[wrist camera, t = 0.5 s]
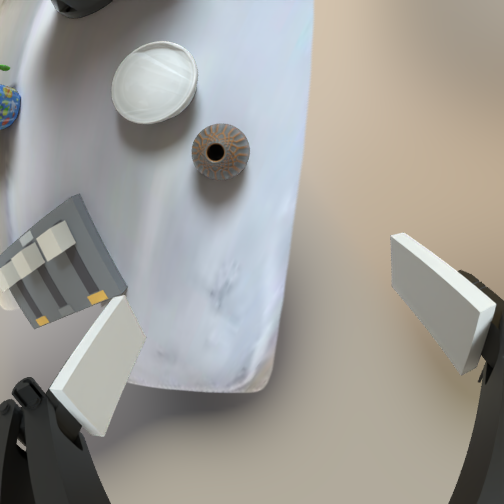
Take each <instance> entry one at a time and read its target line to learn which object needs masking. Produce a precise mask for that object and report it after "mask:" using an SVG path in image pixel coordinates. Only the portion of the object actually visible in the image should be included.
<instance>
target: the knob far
mask: <svg viewBox="0 0 504 504" xmlns="http://www.w3.org/2000/svg"><path fill="white" fill-rule="evenodd" d="M20 279H21V278H20V276H19V274H18V272H17V270H16V268H15V266H14V264H13V262H12V261H10V262H9V263H7V264H6V265H4V266H3V267H1V268H0V290H1V292H2V293H3V292H4V291H6V290H7V289H9V288H10V287H11V286H12V285H14V284H15V283H16V282H18V281H19V280H20Z"/></svg>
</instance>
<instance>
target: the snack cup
mask: <svg viewBox="0 0 504 504" xmlns="http://www.w3.org/2000/svg"><path fill="white" fill-rule="evenodd" d="M0 69H1V70H3V71H7V70H10V67H8V66H6V65H0ZM20 99H21V97H20V95H19V94H18V92H17V91H16V90H15V89H13V88H10V87H8V86H4V85H1V84H0V129H5V128H7V127H8V126H10V125H11V124H12V123H13V121H14V120H15V119H16V118H17V114H18V111H19V107H20Z"/></svg>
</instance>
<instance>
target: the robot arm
mask: <svg viewBox="0 0 504 504" xmlns="http://www.w3.org/2000/svg"><path fill="white" fill-rule="evenodd" d="M111 1H112V0H51V2H52V3H53V5H54V7H55V8H56V10H57V11H58V12H59V13H61V14H63V15H65V16H67V17H69V18H79V17H83V16H86V15H89V14H91V13H94V12H96V11H97V10H99V9H101V8H102V7H104V6H106V5H107V4H108V3H110V2H111ZM390 240H391V261H392V263H391V264H392V287H393V289H394V290H395V291H396V292H397V293H398V294H399V296H400V297H401V298H402V299H403V300H404V301H405V303H406V304H407V305H408V306H409V308H410V309H411V310H412V311H413V312H414V314H415V315H416V316H417V317H418V319H419V320H420V321H421V322H422V324H423V325H424V326H425V328H426V329H427V330H428V331H429V332H430V334H431V335H432V337H433V338H434V339H435V340H436V342H437V343H438V344H439V346H440V347H441V348H442V350H443V351H444V353H445V354H446V355H447V357H448V358H449V359H450V361H451V362H452V364H453V365H454V366H455V367H456V369H457V371H458V372H459V373H460V374H461V375H463V374H465V373H467V372H469V371H471V370H473V369H475V368H476V367H477V365H478V362H479V359H480V357H481V355H482V357H483V358H484V359H485V360H486V363H485V365H484V368H483V370H482V373H481V375H480V377H479V380H478V382H481V380H482V386H481V393H480V399H479V405H478V410H477V415H476V420H475V425H474V429H473V433H472V437H471V441H470V444H469V448H468V451H467V455H466V458H465V461H464V464H463V467H462V470H461V474H460V476H459V479H458V482H457V484H456V487H455V489H454V492H453V494H452V497H451V499H450V501H449V504H504V301H503V300H502V299H501V298H500V297H499V296H498V295H496V294H495V293H494V292H493V291H492V290H490V289H489V288H488V287H485V285H484V284H483V283H482V282H479V280H478V279H477V278H475V277H474V276H473V275H472V274H469V273H467V272H464V271H461V270H459V271H456V270H455V269H453V268H452V267H451V266H450V265H448V264H447V263H446V262H444V261H443V260H442V259H440V258H439V257H438V256H436V255H435V254H434V253H432V252H431V251H430V250H428V249H427V248H425V247H424V246H422V245H421V244H420V243H418V242H417V241H415V240H414V239H413V238H411V237H410V236H408V235H407V234H405V233H404V232H403V233H399V234H395V235H391V236H390ZM145 340H146V336H145V334H144V332H143V331H142V329H141V327H140V325H139V323H138V321H137V319H136V317H135V315H134V313H133V311H132V309H131V307H130V305H129V302H128V300H127V298H126V296H125V295H123V296H118V297H113V298H112V300H111V301H110V302H109V304H108V305H107V306H106V308H105V309H104V310H103V312H102V313H101V314H100V316H99V317H98V318H97V320H96V321H95V322H94V324H93V325H92V326H91V328H90V329H89V331H88V332H87V333H86V335H85V336H84V338H83V339H82V340H81V342H80V343H79V345H78V346H77V348H76V349H75V351H74V352H73V353H72V355H71V356H70V357H69V358H68V360H67V361H66V363H65V365H64V367H62V369H61V370H60V373H59V374H58V375H57V376H56V378H55V380H54V381H53V383H52V384H51V386H50V387H49V389H48V391H47V392H46V394H45V393H44V392H43V390H42V389H41V388H40V387H39V385H38V384H37V383H36V382H35V380H34V379H33V378H32V377H27V378H24V379H23V380H21V381H20V382H18V383H17V384H16V386H15V387H14V389H13V391H12V395H13V396H14V397H15V399H16V400H17V401H18V402H19V404H20V405H21V406H22V407H19V406H18V405H17V404H16V403H15V401H14V400H12V399H9V400H6V401H4V402H3V403H1V404H0V504H111V503H110V501H109V499H108V497H107V495H106V492H105V490H104V488H103V486H102V483H101V481H100V479H99V476H98V474H97V471H96V469H95V466H94V464H93V461H92V458H91V455H90V453H89V450H88V447H87V444H86V441H85V438H84V436H83V435H82V433H80V429H81V427H83V428H84V429H85V430H86V431H87V432H88V433H89V434H91V435H95V436H102V437H104V436H105V433H106V430H107V428H108V426H109V423H110V420H111V418H112V415H113V413H114V411H115V408H116V406H117V403H118V401H119V399H120V396H121V394H122V391H123V389H124V387H125V384H126V382H127V380H128V378H129V375H130V373H131V371H132V368H133V366H134V364H135V362H136V359H137V357H138V355H139V353H140V351H141V349H142V346H143V344H144V342H145ZM17 439H18V440H19V441H20V442H21V443H22V444H23V445H24V446H26V451H24V450H22V449H21V448H20V447H19V446H18V445H17V444H16V443H17Z"/></svg>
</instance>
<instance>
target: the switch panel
mask: <svg viewBox="0 0 504 504" xmlns="http://www.w3.org/2000/svg"><path fill="white" fill-rule="evenodd" d="M64 220H65V221H66V223H67V225H68V227H69V230H70V232H71V234H72V236H73V238H74V240H75V242H76V243H75V244H74V245H72V246H71V247H69V248H68V249H66V250H65V251H64V252H62V253H60V254H59V255H57V256H56V257H54V258H53V259H51V260H49V261H47V260H46V258H45V256H44V254H43V252H42V250H41V248H40V246H39V244H38V242H37V240H36V238H38V237H39V236H40V235H41V234H43V233H44V232H45V231H47V230H48V229H50V228H51V227H53V226H55V225H57V224H59V223H61V222H63V221H64ZM34 242H35V243H36V245H37V247H38V249H39V251H40V253H41V255H42V257H43V259H44V261H45V263H44V264H42V265H41V266H39V267H38V268H37V269H35V270H34V271H33V272H31V273H30V274H28V275H27V276H25V277H24V278H23V279H20V280H19V281H18V282H16V283H15V284H14V285H12V286H11V287H10V288H9V289H10V291H11V293H12V294H13V296H14V298H15V300H16V301H17V303H18V305H19V306H20V308H21V310H22V311H23V313H24V314H25V316H26V318H27V319H28V321H29V322H30V324H31V325H32V327H33V328H34V329H36V328H38V327H41V326H43V325H46V324H48V323H51V322H53V321H56V320H58V319H61V318H63V317H65V316H68V315H70V314H73V313H75V312H78V311H80V310H83V309H85V308H88V307H90V306H93V305H95V304H98V303H100V302H103V301H105V300H108V299H110V298H113V297H115V296H118V295H120V294H122V293H123V292H124V291H125V289H126V288H127V285H126V283H125V282H124V280H123V278H122V276H121V275H120V273H119V271H118V269H117V268H116V266H115V264H114V262H113V260H112V259H111V257H110V255H109V253H108V251H107V249H106V247H105V246H104V244H103V242H102V240H101V238H100V236H99V234H98V232H97V230H96V228H95V226H94V224H93V222H92V220H91V218H90V216H89V213H88V211H87V209H86V207H85V205H84V203H83V200H82V198H81V196H80V194H78V195H75V196H73V197H71V198H69V199H68V200H66V201H65V202H64V203H62V204H61V205H60V206H58V207H57V208H56V209H54V210H53V211H52V212H50V213H49V214H48V215H46V216H45V217H44V218H43V219H41V220H40V221H39V222H38V223H36V224H35V225H34V226H33V227H32V228H30V229H29V230H28V231H27V232H26V233H24V234H23V235H22V236H21V237H20V238H19V239H17V240H16V241H15V242H14V243H13V244H12V245H11V246H10V247H8V248H7V249H6V250H5V251H4V252H3V253H2V254H1V255H0V268H1V267H3V266H4V265H6V264H7V263H9V262H10V261H12V260H11V258H13V257H14V256H15V255H16V254H17V253H19V252H20V251H21V250H23V249H24V248H26V247H28V246H29V245H31V244H33V243H34Z"/></svg>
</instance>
